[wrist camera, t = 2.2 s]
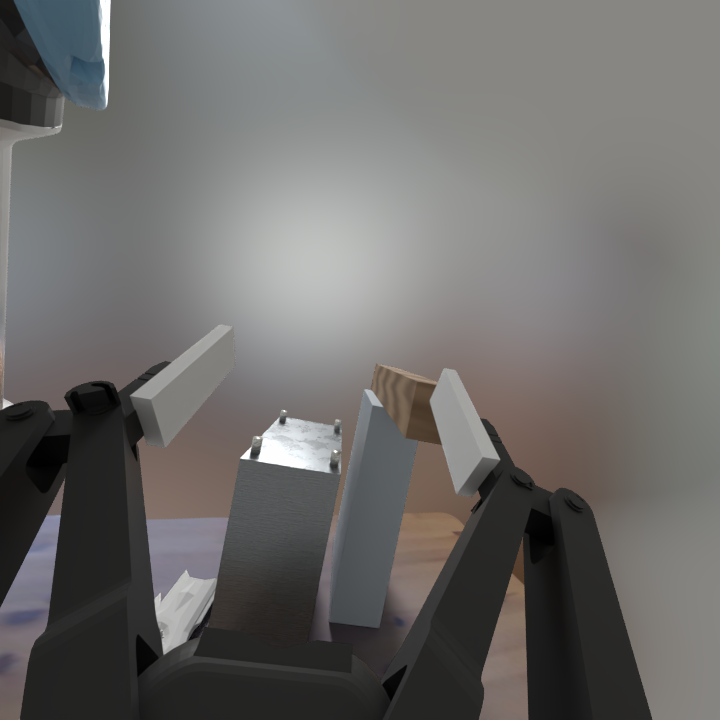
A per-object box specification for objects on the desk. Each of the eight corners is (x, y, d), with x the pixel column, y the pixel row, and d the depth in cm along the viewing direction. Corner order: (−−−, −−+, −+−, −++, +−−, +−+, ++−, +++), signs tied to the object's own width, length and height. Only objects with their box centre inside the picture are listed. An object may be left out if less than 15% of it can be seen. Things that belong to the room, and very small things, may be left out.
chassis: (196, 690, 26) (243, 443, 25) (252, 560, 42) (282, 407, 41) (295, 700, 26) (343, 460, 26) (313, 568, 42) (343, 418, 42)
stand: (328, 622, 35) (372, 405, 34) (333, 543, 49) (364, 389, 48) (379, 628, 35) (423, 414, 34) (369, 549, 49) (400, 396, 48)
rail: (449, 446, 22) (461, 389, 22) (405, 438, 22) (417, 381, 22) (390, 392, 50) (395, 367, 50) (370, 388, 50) (376, 363, 50)
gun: (160, 556, 36) (231, 570, 36) (157, 578, 36) (227, 592, 36) (-48, 780, 17) (97, 808, 18) (-52, 823, 18) (91, 850, 18)
